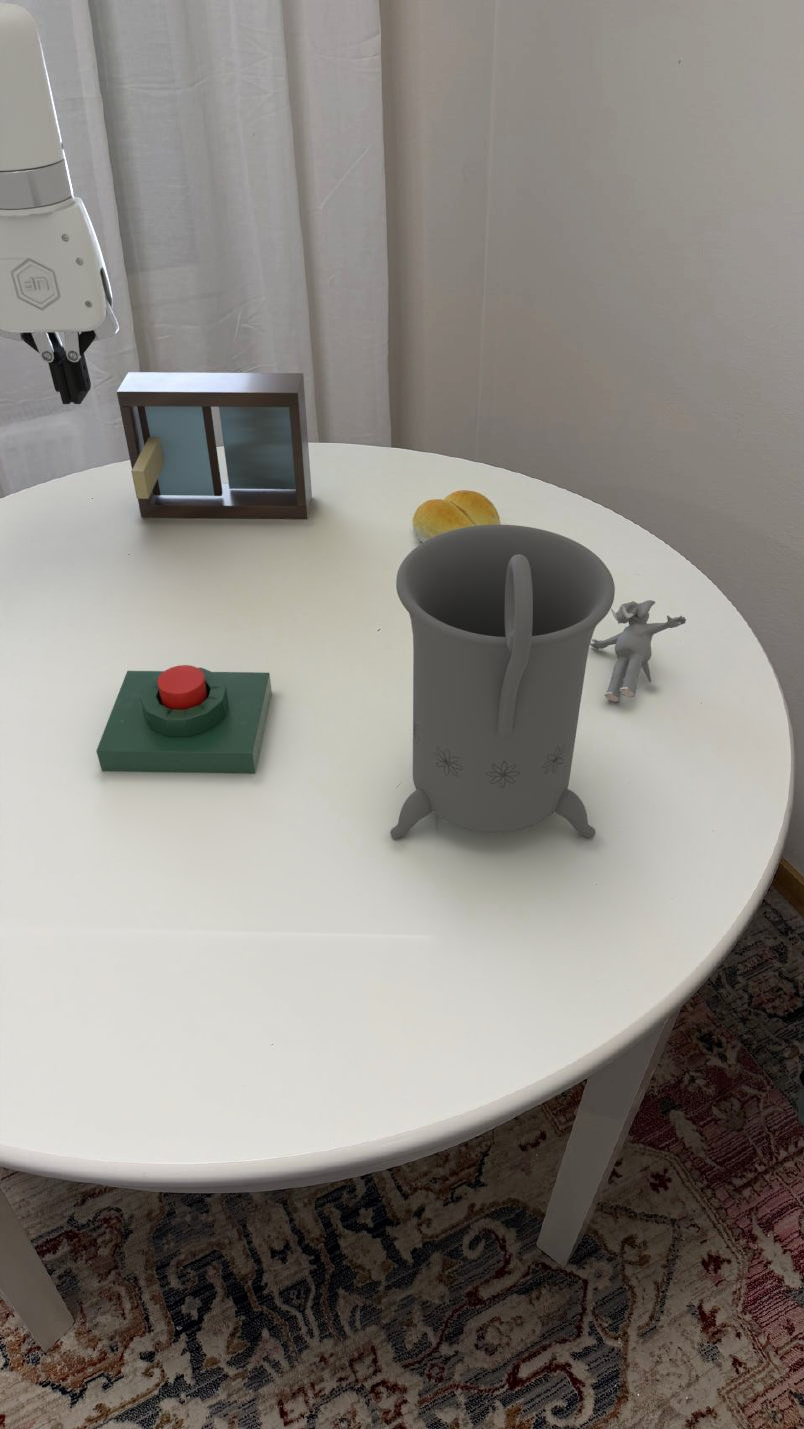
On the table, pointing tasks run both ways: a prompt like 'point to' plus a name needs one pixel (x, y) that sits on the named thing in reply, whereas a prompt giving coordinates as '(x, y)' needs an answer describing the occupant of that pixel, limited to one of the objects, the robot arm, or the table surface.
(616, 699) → the elephant figurine
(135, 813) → the table surface
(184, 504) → the window frame
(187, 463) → the window pane
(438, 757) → the mug
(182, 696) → the button
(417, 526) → the bread roll
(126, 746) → the button box
